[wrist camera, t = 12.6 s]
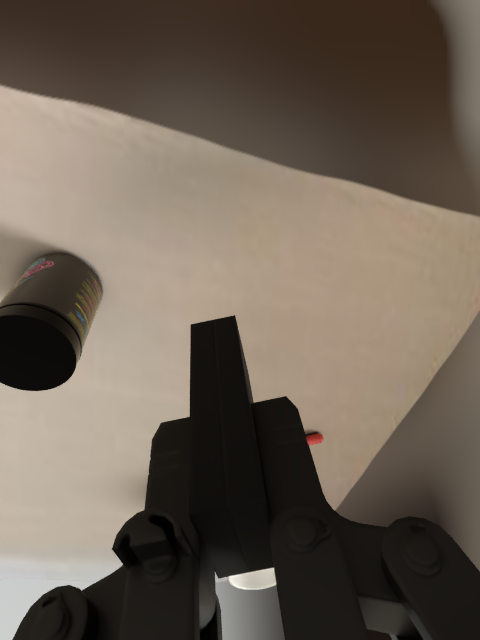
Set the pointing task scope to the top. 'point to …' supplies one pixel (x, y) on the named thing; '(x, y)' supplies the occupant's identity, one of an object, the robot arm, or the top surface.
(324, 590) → the robot arm
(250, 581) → the white cup
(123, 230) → the top surface
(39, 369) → the supplement container
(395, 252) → the top surface
